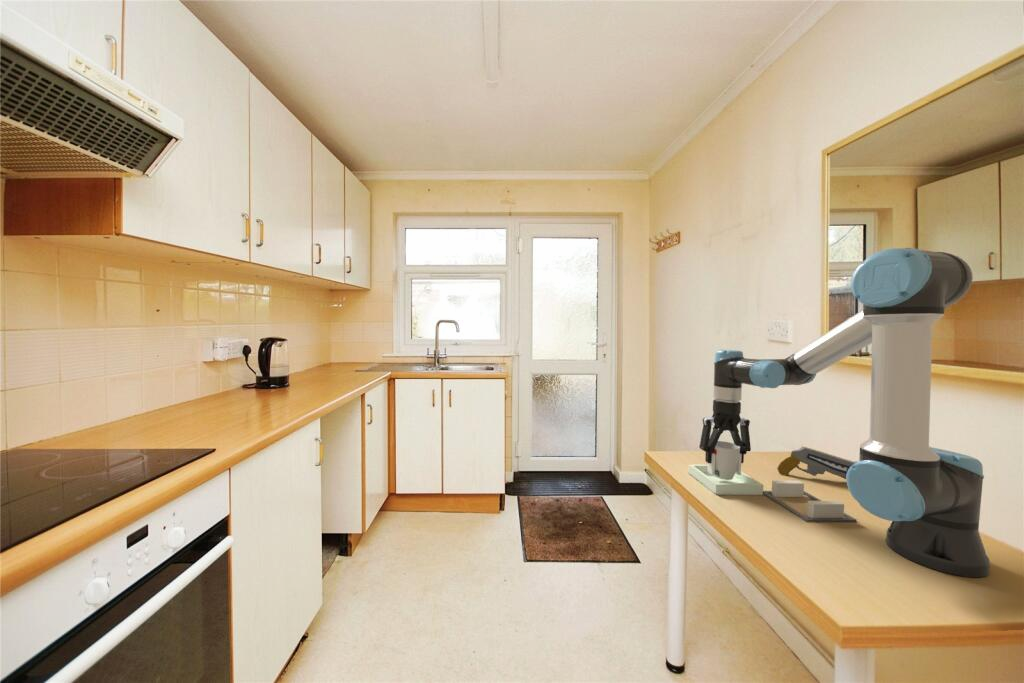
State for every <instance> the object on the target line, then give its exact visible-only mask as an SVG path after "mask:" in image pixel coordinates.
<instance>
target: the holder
mask: <svg viewBox="0 0 1024 683" xmlns="http://www.w3.org/2000/svg"><path fill="white" fill-rule="evenodd" d="M763 495H765V496H766V497H767V498H769V499H770V500H772V501H774V502H775V503H777V504H778V505H780V506H781V507H783V508H785V509H786V510H788V511H789V512H790V513H792V514H794V515H796V516H797V517H798V518H801V519H802V520H804V521H805V522H807V523H812V522H813V523H823V522H824V523H827V522H828V523H829V522H830V523H831V522H832V523H838V522H839V523H840V522H841V523H842V522H843V523H844V522H849V523H851V522H855V523H856V522H857V519H856V518H855V517H853V516H851V515H849V514H847V513H845V504H844V503H842V502H841V501H839V500H821V499H820V498H817V497H816V496H814V495H812V494H810V493H808V492H807V491H805V483H804V482H802V481H800V480H772V481H771V490H763ZM804 496H806V497H807V498H809V499H811V500H807V505H806V508H807V510H806V515H804V514H802V513H801V512H799V511H797V510H796V509H794V508H792V507H791V506H789V504H786V503H784V502H783V501H781V500H780V499H778V498H804Z"/></svg>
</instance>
